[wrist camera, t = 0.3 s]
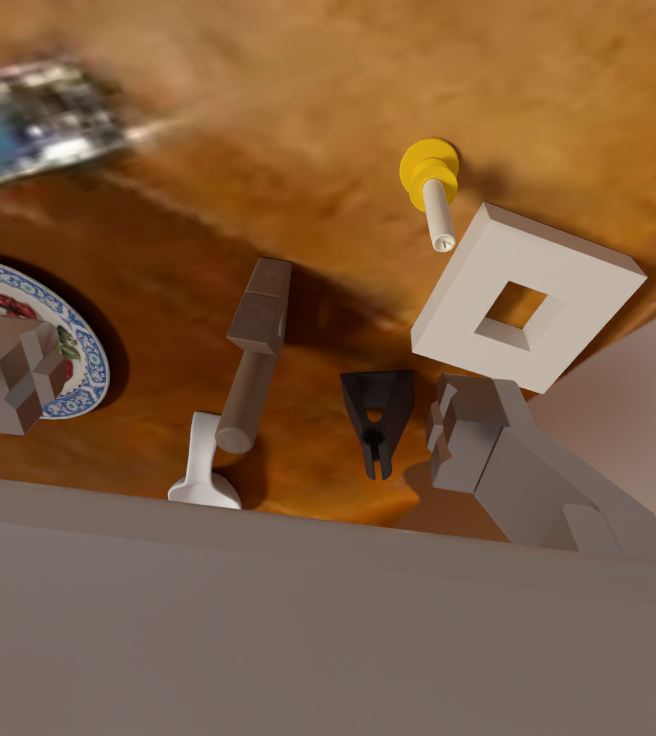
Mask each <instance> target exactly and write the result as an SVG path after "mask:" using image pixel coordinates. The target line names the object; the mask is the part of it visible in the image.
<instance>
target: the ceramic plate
mask: <svg viewBox="0 0 656 736" xmlns="http://www.w3.org/2000/svg"><path fill="white" fill-rule="evenodd" d="M0 315H9V316H15V317H22V318H29V319H35V320H42V321H49V322H51V323H52V324H53V325H55V326H56V328H57V331H58V335H59V338H60V341H59V343H58V344H57V346H56V347H55V349H56V350H57V351H58V352H59V353H60V354H61V355H62V356H63V357H64V358H65V362H66V366H67V379H66V382H65V385H64V388H63V390H62V392H61V393H60V394H59V396H58V397H57V398H56V399H55V400H54V401H52V402H49V403H47V404H45V405H43V406H42V410H43V415H42V416H41V417H40V418H42V419H67V418H71V417H76V416H79V415H82V414H85V413H87V412H89V411H91V410H92V409H93V408H95V407H96V406H97V405H98V404H99V403H100V402H101V401H102V400H103V398H104V397H105V395H106V393H107V390H108V387H109V382H110V369H109V363H108V360H107V356H106V354H105V351H104V349H103V347H102V345H101V343H100V341H99V339H98V338H97V336H96V334H95V333H94V332H93V330H92V329H91V327H90V326H89V325H88V324H87V322H86V321H85V320H84V319H83V318H82V317H81V315H80V314H79V313H78V312H77V311H76V310H75V309H73V308H72V307H71V306H70V305H69V304H68V303H67V302H66V301H65V300H63V299H62V298H61V297H60V296H58V295H57V294H56V293H55V292H53V291H52V290H50V289H49V288H47V287H46V286H44V285H43V284H41V283H40V282H38V281H36V280H35V279H33V278H31V277H29V276H27V275H25V274H23V273H21V272H19V271H17V270H15V269H13V268H10V267H8V266H5V265H3V264H0Z"/></svg>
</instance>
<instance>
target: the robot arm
mask: <svg viewBox="0 0 656 736" xmlns="http://www.w3.org/2000/svg"><path fill="white" fill-rule="evenodd" d="M59 341H60V338H59V335H58V331H57V328H56V326H55V325H53V324H52V323H51V322H49V321H42V320H35V319H29V318H22V317H15V316H9V315H0V433H6V434H16V435H25V434H26V433H27V432H28V431H29V430H30V428H31V427H32V426H33V425H34V424H35V423H36V421H37V420H38V419H39V418H40V417H41V416H42V415H43V410H42V406H43V405H45V404H47V403H49V402H52V401H54V400H55V399H56V398H57V397H58V396H59V394H60V393H61V392H62V390H63V388H64V385H65V382H66V379H67V366H66V362H65V358H64V357H63V356H62V355H61V354H60V353H59V352H58V351H57V350H56V349H55V347H56V346H57V344H58V343H59ZM436 393H437V399H438V400H437V401H435V402H434V403H433V404H431V405H430V409H429V413H428V417H427V423H426V444H427V448H428V449H429V450H430V451H431V452H432V456H431V459H430V462H429V464H430V471H431V477H432V483H433V487H435V488H441V489H448V490H454V491H462V492H468V493H474V496H475V497H476V499H477V500H478V501H479V502H480V504H481V505H482V506H483V507H484V509H485V510H486V511H487V512H488V514H489V515H490V516H491V517H492V519H493V520H494V521H495V522H496V524H497V525H498V526H499V527H500V529H501V530H502V531H503V532H504V534H505V535H506V536H507V537H508V539H509V540H510V541H511V542H512V543H505V542H497V541H489V540H481V539H473V538H465V537H456V536H448V535H440V534H431V533H423V532H415V531H407V530H400V529H392V528H384V527H376V526H368V525H360V524H352V523H345V522H337V521H329V520H321V519H313V518H305V517H297V516H290V515H282V514H274V513H266V512H258V511H250V510H242V509H234V508H226V507H218V506H210V505H202V504H194V503H186V502H178V501H170V500H162V499H154V498H146V497H138V496H130V495H122V494H114V493H106V492H98V491H90V490H82V489H74V488H66V487H58V486H50V485H42V484H34V483H26V482H18V481H10V480H2V479H0V736H656V517H655V516H654V514H653V513H652V512H651V511H649V510H648V509H647V508H646V507H644V506H643V505H642V504H641V503H639V502H638V501H637V500H635V499H634V498H633V497H631V496H630V495H629V494H627V493H626V492H624V491H623V490H622V489H621V488H619V487H618V486H617V485H615V484H614V483H613V482H611V481H610V480H608V479H607V478H606V477H605V476H603V475H602V474H601V473H599V472H598V471H597V470H595V469H594V468H593V467H591V466H590V465H589V464H588V463H586V462H585V461H583V460H582V459H581V458H580V457H578V456H577V455H575V454H574V453H573V452H572V451H570V450H569V449H568V448H566V447H565V446H564V445H562V444H561V443H560V442H558V441H557V440H556V439H554V438H553V437H552V436H550V435H549V434H548V433H546V432H541V431H538V429H537V427H536V424H535V422H534V420H533V418H532V416H531V413H530V411H529V409H528V407H527V405H526V402H525V400H524V398H523V396H522V393H521V391H520V389H519V387H518V384H517V383H516V382H515V381H513V380H506V379H495V378H482V377H473V376H464V375H455V374H445V373H442V374H441V376H440V378H439V380H438V383H437V386H436Z"/></svg>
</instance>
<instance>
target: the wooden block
mask: <svg viewBox="0 0 656 736" xmlns="http://www.w3.org/2000/svg"><path fill="white" fill-rule="evenodd" d="M291 270H292V264H291V263H290V262H287V261H281V260H275V259H270V258H264V257H260V258H259V260H258V262H257V264H256V267H255V269H254V271H253V274H252V276H251V279H250V281H249V283H248V286H247V288H246V290H245V293H244V295H243V297H242V300H241V302H240V304H239V307H238V309H237V312H236V314H235V316H234V319H233V321H232V324H231V326H230V328H229V331H228V333H227V336H226V338H228V339H229V340H230V341H232V342H233V343H234V344H236V345H237V346H239V347H240V348H241V349H243V350H245V351H244V354H243V357H242V359H241V362H240V365H239V368H238V371H237V373H236V376H235V379H234V382H233V385H232V387H231V390H230V393H229V396H228V399H227V401H226V404H225V407H224V410H223V413H222V415H221V418H220V421H219V424H218V427H217V429H216V432H215V441H216V443H217V445H218V446H219V447H220V448H222V449H223V450H225V451H227V452H230V453H235V454H241V453H245V452H248V451H249V450H250V449H251V448H252V447H253V445H254V442H255V438H256V434H257V431H258V427H259V423H260V419H261V416H262V412H263V408H264V405H265V401H266V397H267V393H268V390H269V386H270V382H271V379H272V375H273V371H274V367H275V364H276V360H277V358H279V357H280V355H281V351H282V347H283V343H284V338H285V328H286V318H287V309H288V299H289V289H290V280H291Z"/></svg>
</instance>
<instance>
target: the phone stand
mask: <svg viewBox="0 0 656 736" xmlns="http://www.w3.org/2000/svg"><path fill="white" fill-rule="evenodd" d="M340 378H341V383H342V389H343V395H344V400H345V406H346V410H347V413H348V415H349V417H350V420H351V422H352V424H353V427H354V429H355V432H356V434H357V436H358V439H359V441H360V443H361V446H362V448H363V455H364V461H365V467H366V473H367V475H368V477H369V478H370V479H372V480H375V479H376V477H375V470H374V463H373V462H374V461H376V462H377V461H378V460H380V464H381V472H382V479H383V480H385V479H387V478H388V477H389V476H390V475H391V473H392V464H391V459H392V456H393V454H394V451H395V449H396V447H397V445H398V442H399V440H400V438H401V436H402V433H403V431H404V429H405V426H406V424H407V422H408V420H409V417H410V415H411V413H412V411H413V408H414V388H413V371H412V370H394V371H378V372H357V373H342V374H341V375H340ZM376 407H385V410H384V413H383V415H382V418H381V420H380V421H378V422H371V421H370V420H369V419H368V416H367V413H366V409H365V408H376Z"/></svg>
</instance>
